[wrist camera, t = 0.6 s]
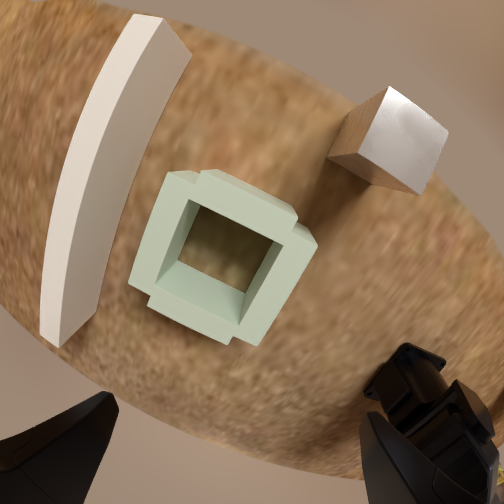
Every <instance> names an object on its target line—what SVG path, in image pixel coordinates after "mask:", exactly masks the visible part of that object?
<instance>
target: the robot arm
mask: <svg viewBox="0 0 504 504" xmlns="http://www.w3.org/2000/svg"><path fill="white" fill-rule="evenodd" d="M406 348H407V349H406ZM405 349H406V350H405ZM445 365H446V360H445V359H444V358H442V357H440V356H437V355H435V354H433V353H431V352H428V351H426V350H424V349H422V348H419V347H417V346H415V345H413V344H411V343H405V344H403V345H402V346H401V348H400V349H399V350H398V351H397V353H396V354H395V355H394V356H393V358H392V359H391V360H390V361H389V362H388V364H387V365H386V366H385V367H384V368H383V370H382V371H381V372H380V373H379V374H378V375H377V377H376V378H375V379H374V380H373V381H372V382H371V383H370V384H369V386H368V387H367V388H366V389H365V390H364V392H363V393H364V396H365V397H366V398H370V399H374V400H377V401H380V403H381V405H382V408H383V411H384V413H385V414H386V415H387V418H388V421H389V422H388V421H387V420H386V419H385V418H384V417H383V416H382V415H381V414H380V413H379V412H378V411H369V412H366V413H365V414H364V417H363V419H362V422H361V425H360V429H359V433H360V445H361V458H362V469H363V475H364V480H365V484H366V490H367V496H368V501H369V504H502V503H501V501H500V499H499V497H498V495H497V493H496V486H497V478H498V468H499V451H498V450H497V448H496V446H495V445H494V443H493V442H492V440H491V439H492V438H493V437H494V436H495V431H494V428H493V424H492V421H491V417H490V414H489V411H488V409H487V407H486V406H485V405H484V403H483V402H482V401H481V399H480V398H479V397H478V395H477V394H476V393H475V392H473V391H472V390H471V389H469V388H468V387H467V386H465V385H464V384H463V383H461V382H460V381H459V380H457V379H456V380H455V381H454V382H453V383H452V385H451V386H450V387H449V386H448V385H447V383H446V382H445V380H444V379H443V377H442V376H441V374H440V373H439V372H440V371H441V370H442V369H443V368H444V366H445ZM368 392H369V393H368ZM118 413H119V407H118V405H117V402H116V400H115V398H114V395H113V394H112V393H110V392H106V391H101V392H99V393H98V394H96V395H94V396H92V397H90V398H88V399H87V400H85V401H83V402H81V403H79V404H77V405H75V406H73V407H72V408H70V409H68V410H66V411H64V412H62V413H60V414H58V415H56V416H54V417H52V418H51V419H48V420H46V421H45V422H43V423H41V424H38V425H36V426H35V427H32V428H30V429H28V430H26V431H24V432H22V433H19V434H17V435H14V436H12V437H9V438H7V439H3V440H1V441H0V504H83V503H84V501H85V498H86V496H87V493H88V491H89V488H90V486H91V484H92V481H93V479H94V477H95V474H96V472H97V470H98V467H99V465H100V463H101V460H102V458H103V455H104V453H105V451H106V449H107V446H108V444H109V442H110V439H111V435H112V432H113V429H114V426H115V422H116V420H117V417H118Z"/></svg>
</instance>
